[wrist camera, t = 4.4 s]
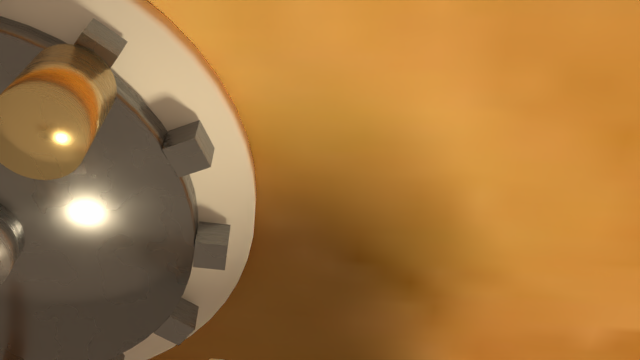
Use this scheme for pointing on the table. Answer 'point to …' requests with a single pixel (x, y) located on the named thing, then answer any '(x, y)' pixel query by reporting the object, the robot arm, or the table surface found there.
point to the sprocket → (92, 204)
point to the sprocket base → (171, 125)
